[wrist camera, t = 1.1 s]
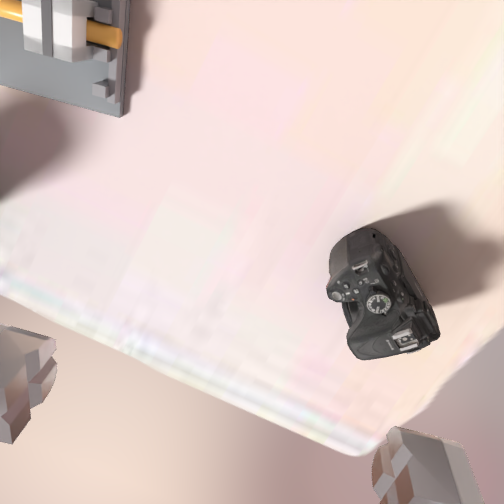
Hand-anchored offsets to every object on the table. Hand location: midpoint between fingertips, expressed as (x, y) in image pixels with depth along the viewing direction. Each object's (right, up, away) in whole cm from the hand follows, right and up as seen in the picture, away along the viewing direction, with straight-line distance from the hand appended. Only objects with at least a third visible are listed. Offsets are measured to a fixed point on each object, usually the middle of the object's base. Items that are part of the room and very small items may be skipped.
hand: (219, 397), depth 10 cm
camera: (+15, +1, +36) cm, 39 cm away
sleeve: (-15, +23, +26) cm, 38 cm away
